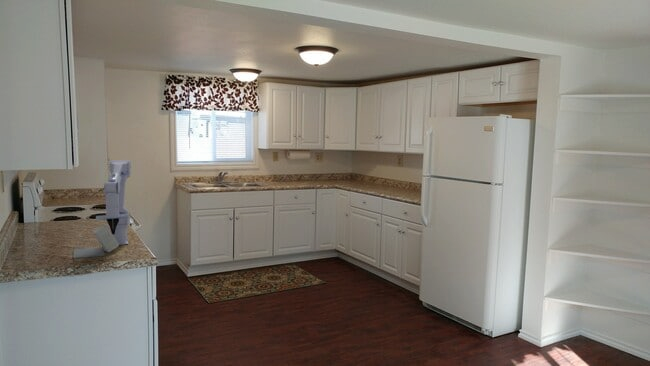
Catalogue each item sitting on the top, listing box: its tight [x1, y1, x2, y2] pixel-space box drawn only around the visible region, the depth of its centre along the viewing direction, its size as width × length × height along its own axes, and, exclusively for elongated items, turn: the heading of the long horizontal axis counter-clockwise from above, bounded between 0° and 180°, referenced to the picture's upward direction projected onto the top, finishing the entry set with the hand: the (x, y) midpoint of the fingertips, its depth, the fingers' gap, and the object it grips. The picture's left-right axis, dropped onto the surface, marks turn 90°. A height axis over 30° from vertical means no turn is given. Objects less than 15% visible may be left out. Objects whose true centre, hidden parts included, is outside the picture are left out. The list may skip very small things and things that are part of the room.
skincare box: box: [92, 224, 120, 253], centre depth 223 cm, size 6×4×12 cm
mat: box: [72, 246, 106, 260], centre depth 221 cm, size 18×13×1 cm
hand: (113, 234), depth 225 cm, fingers closed
